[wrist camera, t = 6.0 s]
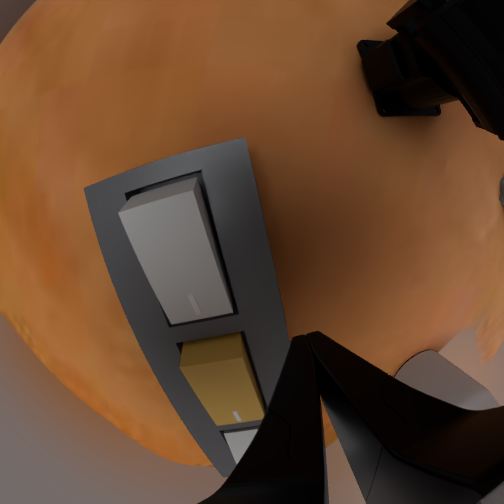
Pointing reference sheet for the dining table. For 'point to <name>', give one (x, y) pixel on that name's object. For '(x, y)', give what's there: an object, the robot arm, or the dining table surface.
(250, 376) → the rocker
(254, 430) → the rocker
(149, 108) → the dining table surface
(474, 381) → the cup
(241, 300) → the rocker switch panel
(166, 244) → the rocker
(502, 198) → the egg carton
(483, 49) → the robot arm
